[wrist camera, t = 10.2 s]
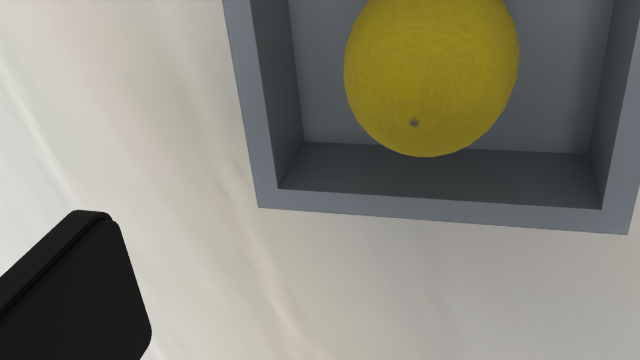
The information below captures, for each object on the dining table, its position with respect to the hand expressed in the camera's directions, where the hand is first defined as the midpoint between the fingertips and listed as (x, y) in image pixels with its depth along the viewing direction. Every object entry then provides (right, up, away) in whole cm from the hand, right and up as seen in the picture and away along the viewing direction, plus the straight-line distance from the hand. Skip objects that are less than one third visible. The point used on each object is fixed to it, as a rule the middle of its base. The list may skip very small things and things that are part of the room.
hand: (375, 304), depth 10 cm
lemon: (+4, +8, +13) cm, 16 cm away
